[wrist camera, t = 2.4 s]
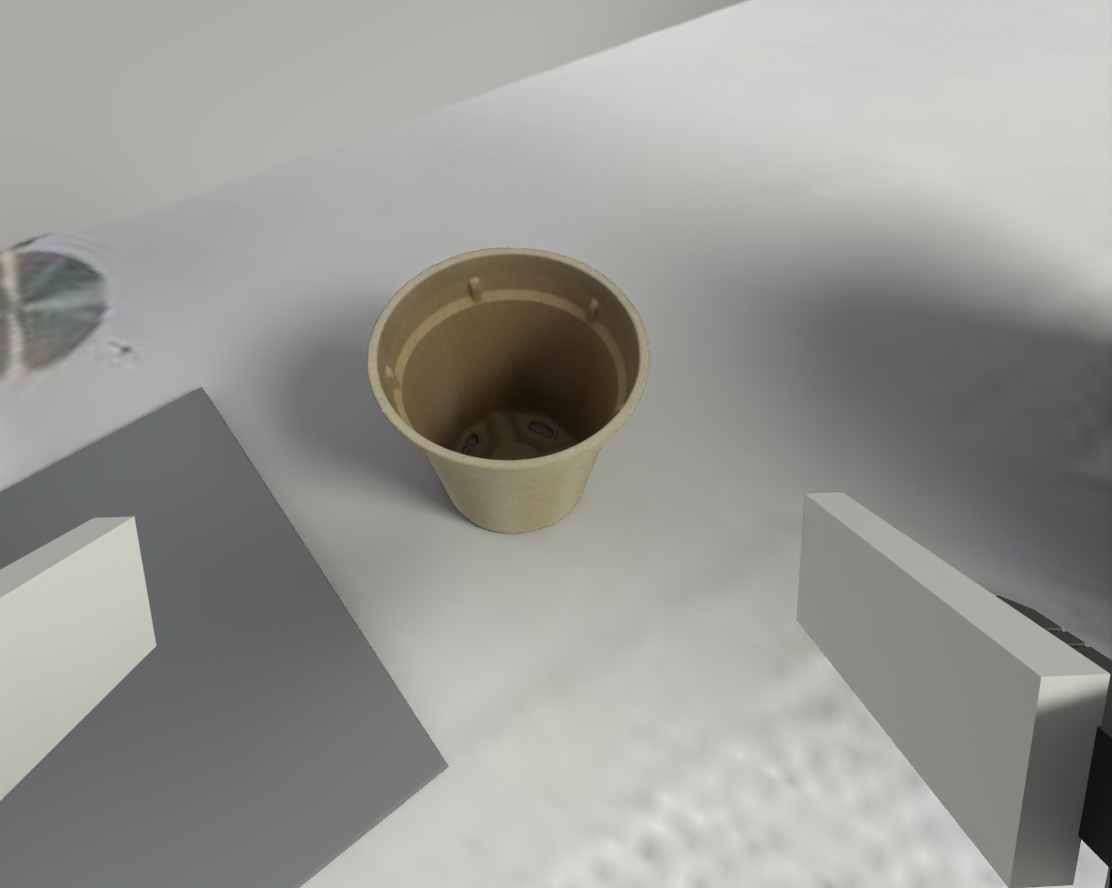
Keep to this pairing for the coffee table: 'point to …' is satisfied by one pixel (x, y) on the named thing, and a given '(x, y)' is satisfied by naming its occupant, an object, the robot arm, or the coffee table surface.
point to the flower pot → (509, 378)
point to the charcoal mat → (207, 685)
